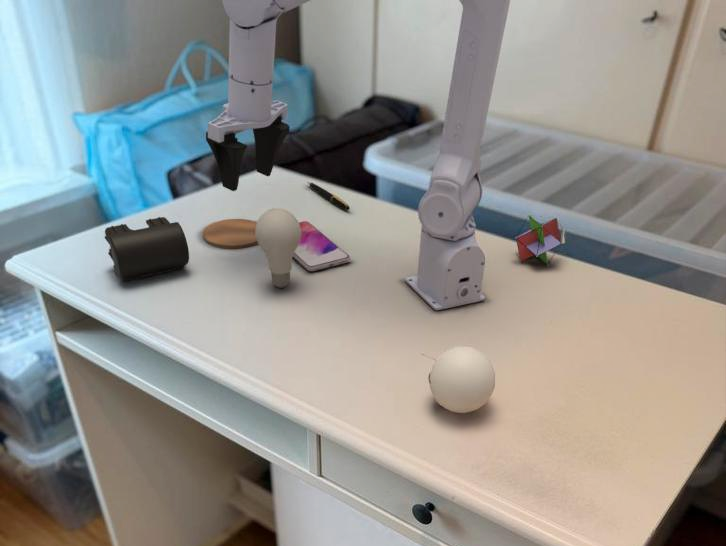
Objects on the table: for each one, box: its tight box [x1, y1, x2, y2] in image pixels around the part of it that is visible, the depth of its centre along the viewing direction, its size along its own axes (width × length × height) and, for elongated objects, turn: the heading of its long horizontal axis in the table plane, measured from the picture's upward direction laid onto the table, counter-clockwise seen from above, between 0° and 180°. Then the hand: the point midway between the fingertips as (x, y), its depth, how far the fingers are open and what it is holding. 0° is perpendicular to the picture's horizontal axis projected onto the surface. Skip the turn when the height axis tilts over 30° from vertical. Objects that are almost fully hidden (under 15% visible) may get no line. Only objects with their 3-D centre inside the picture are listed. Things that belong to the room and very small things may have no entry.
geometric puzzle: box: [515, 214, 566, 266], centre depth 108 cm, size 7×7×8 cm
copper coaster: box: [202, 218, 259, 249], centre depth 114 cm, size 10×10×1 cm
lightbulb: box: [255, 207, 301, 289], centre depth 98 cm, size 6×6×11 cm
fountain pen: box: [306, 181, 350, 211], centre depth 125 cm, size 14×1×2 cm, turn 34°
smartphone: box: [293, 220, 351, 272], centre depth 111 cm, size 7×1×15 cm
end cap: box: [104, 216, 190, 282], centre depth 102 cm, size 10×7×7 cm
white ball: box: [420, 345, 496, 414], centre depth 80 cm, size 10×7×7 cm
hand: (247, 180), depth 103 cm, fingers open, 7 cm apart
